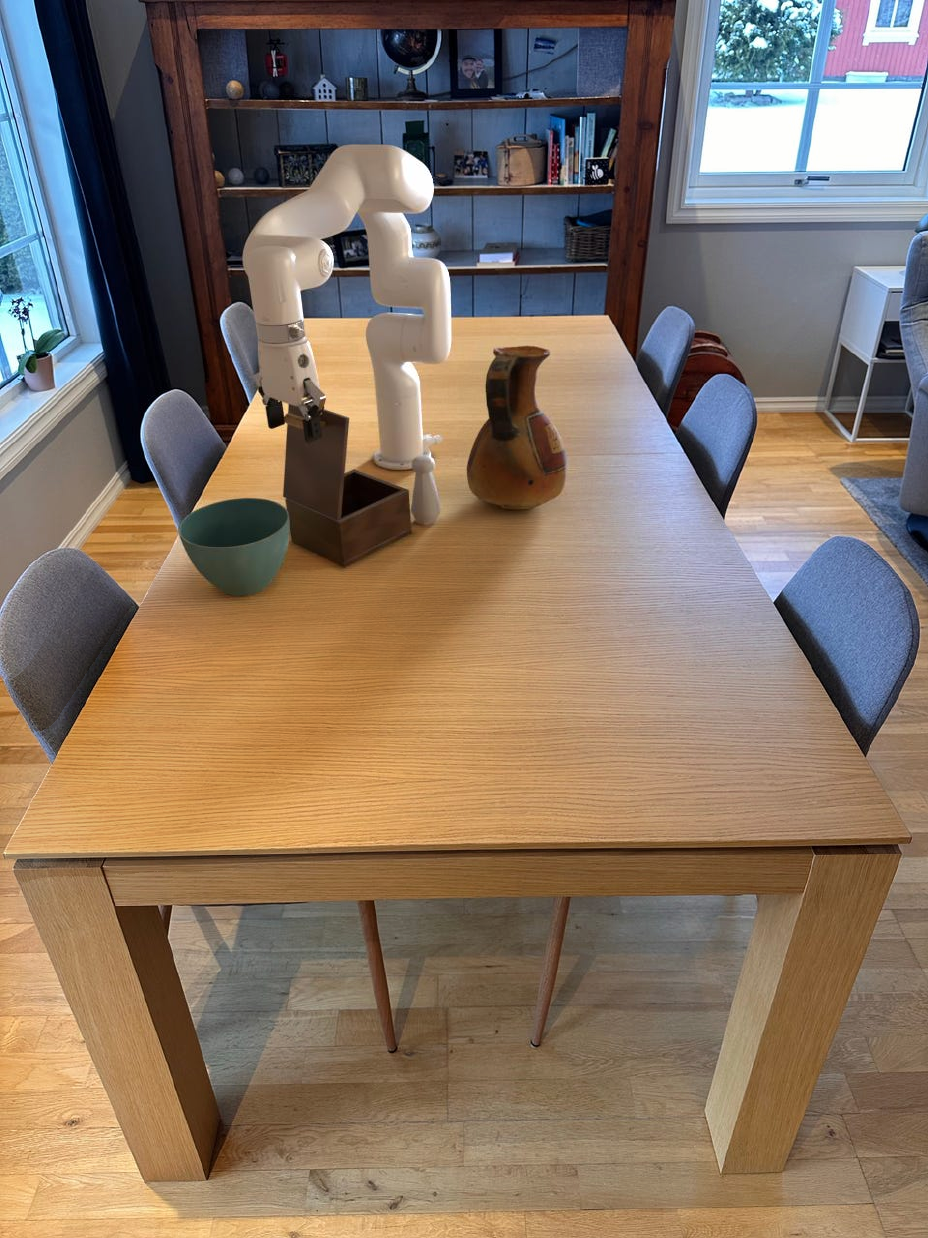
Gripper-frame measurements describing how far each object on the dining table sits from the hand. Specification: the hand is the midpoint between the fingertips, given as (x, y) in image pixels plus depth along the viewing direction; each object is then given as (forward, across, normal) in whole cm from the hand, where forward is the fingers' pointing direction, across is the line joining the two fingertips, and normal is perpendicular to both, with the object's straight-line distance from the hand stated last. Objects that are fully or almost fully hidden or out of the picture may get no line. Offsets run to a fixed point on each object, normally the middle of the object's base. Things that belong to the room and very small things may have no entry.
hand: (295, 433), depth 155 cm
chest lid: (+6, 0, -4) cm, 7 cm away
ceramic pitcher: (+24, -14, -42) cm, 51 cm away
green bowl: (+24, +2, +14) cm, 28 cm away
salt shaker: (+24, -6, -24) cm, 34 cm away
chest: (+24, 0, -10) cm, 26 cm away
